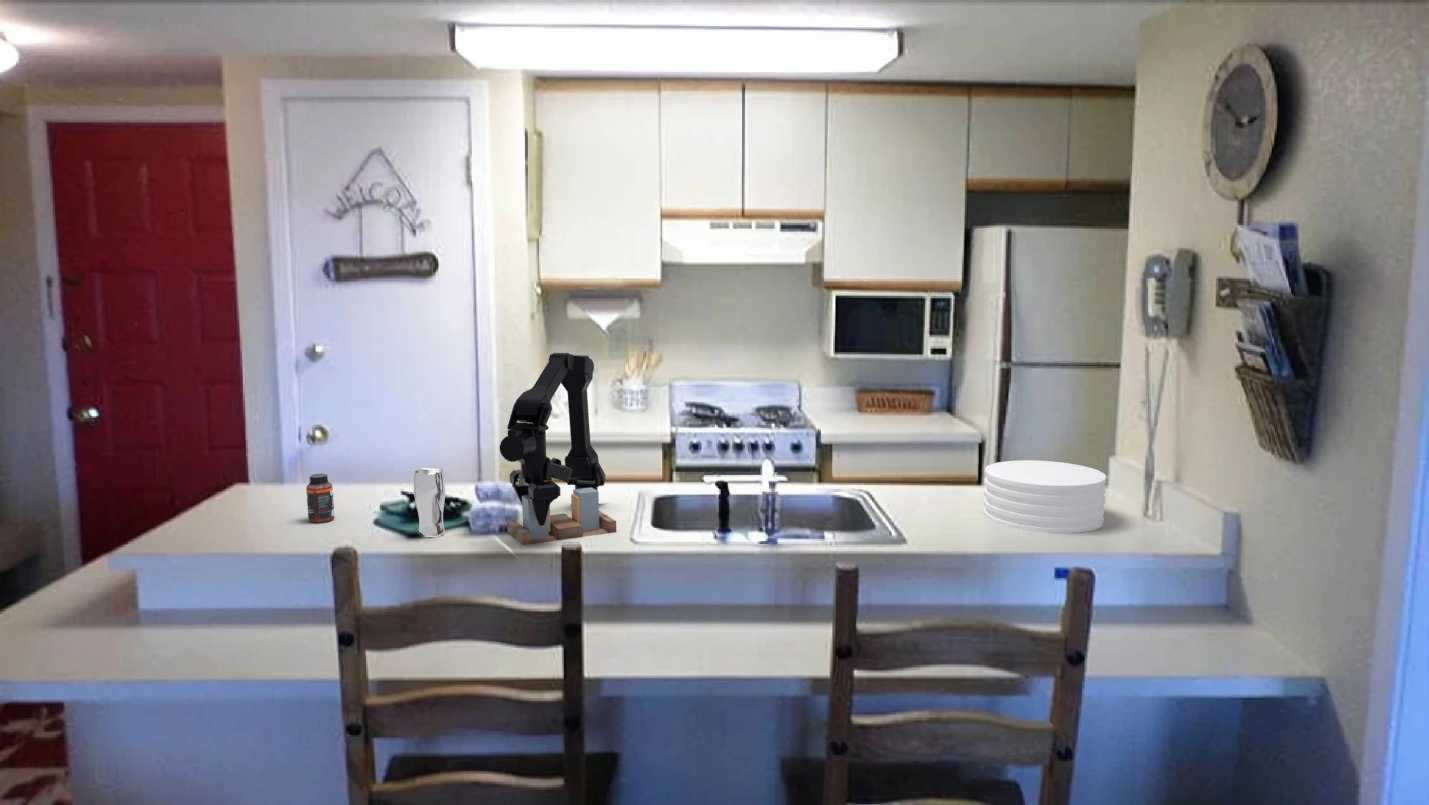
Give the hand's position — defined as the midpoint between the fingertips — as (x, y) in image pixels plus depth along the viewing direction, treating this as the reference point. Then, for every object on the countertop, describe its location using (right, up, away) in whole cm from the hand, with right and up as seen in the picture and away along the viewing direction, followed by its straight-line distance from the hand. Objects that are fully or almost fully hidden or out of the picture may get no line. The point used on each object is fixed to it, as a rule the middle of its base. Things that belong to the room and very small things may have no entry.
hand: (535, 520), depth 220 cm
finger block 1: (0, -3, 0) cm, 4 cm away
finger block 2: (+11, -3, +6) cm, 13 cm away
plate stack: (+121, -2, +19) cm, 122 cm away
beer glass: (-25, -4, +5) cm, 26 cm away
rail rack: (+5, -4, +3) cm, 8 cm away
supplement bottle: (-55, -2, +17) cm, 58 cm away
